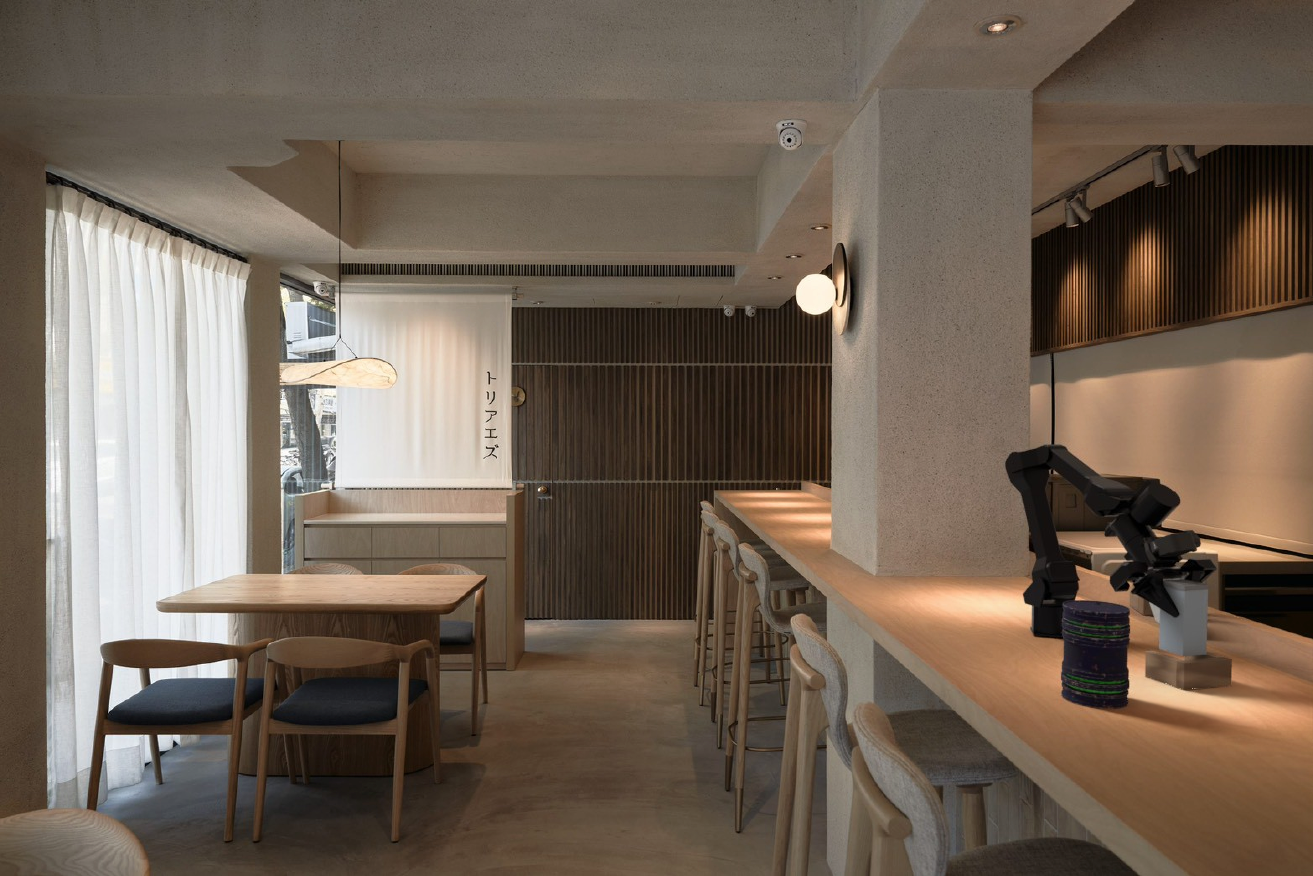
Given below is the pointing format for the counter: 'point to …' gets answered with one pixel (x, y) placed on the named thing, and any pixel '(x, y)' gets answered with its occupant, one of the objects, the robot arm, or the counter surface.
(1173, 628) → the rail post
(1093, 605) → the storage jar
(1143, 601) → the wooden block
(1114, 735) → the counter surface
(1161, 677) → the block
